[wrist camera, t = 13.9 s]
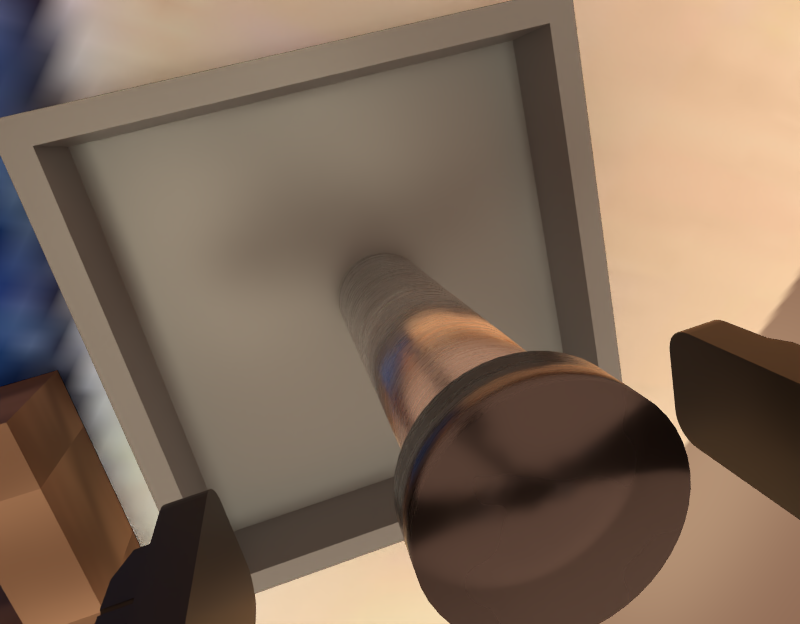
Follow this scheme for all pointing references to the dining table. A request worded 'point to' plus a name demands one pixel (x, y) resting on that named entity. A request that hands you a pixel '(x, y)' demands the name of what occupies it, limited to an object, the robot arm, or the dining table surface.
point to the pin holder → (54, 510)
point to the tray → (314, 251)
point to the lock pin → (512, 459)
